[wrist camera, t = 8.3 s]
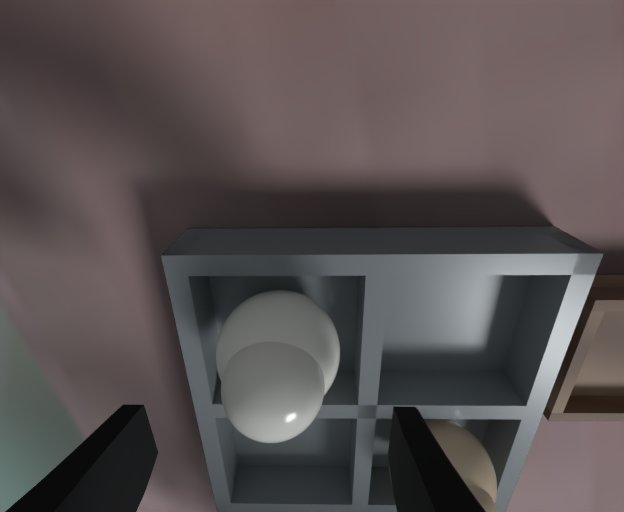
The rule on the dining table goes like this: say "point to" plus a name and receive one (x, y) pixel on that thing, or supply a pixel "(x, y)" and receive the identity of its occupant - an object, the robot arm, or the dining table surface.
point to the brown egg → (467, 459)
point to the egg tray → (383, 347)
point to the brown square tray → (593, 359)
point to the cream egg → (276, 364)
